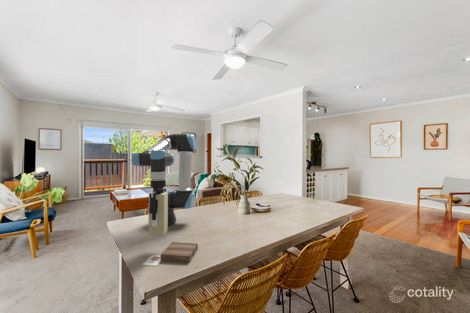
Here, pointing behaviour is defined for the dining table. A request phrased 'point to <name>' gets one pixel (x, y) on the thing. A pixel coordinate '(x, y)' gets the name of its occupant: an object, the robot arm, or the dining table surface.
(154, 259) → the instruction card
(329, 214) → the dining table surface
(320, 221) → the dining table surface
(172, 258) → the walnut plinth
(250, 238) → the dining table surface
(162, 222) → the toy refrigerator
